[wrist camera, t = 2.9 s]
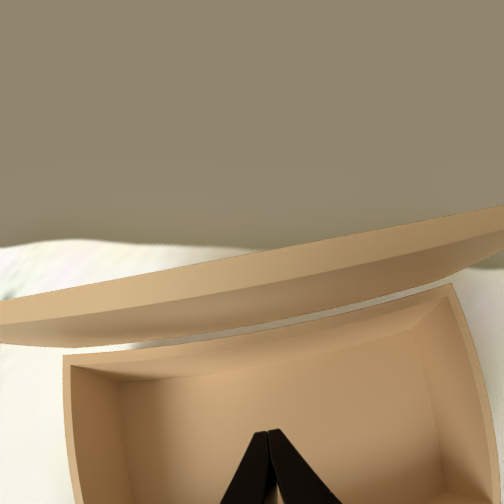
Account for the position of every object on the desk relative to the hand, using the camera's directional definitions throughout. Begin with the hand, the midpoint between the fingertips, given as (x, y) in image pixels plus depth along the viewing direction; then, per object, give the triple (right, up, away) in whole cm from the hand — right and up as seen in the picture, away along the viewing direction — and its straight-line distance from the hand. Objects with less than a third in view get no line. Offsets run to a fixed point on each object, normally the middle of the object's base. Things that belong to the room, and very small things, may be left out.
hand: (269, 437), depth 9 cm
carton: (+1, -7, +7) cm, 10 cm away
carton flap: (-1, +4, +1) cm, 4 cm away
